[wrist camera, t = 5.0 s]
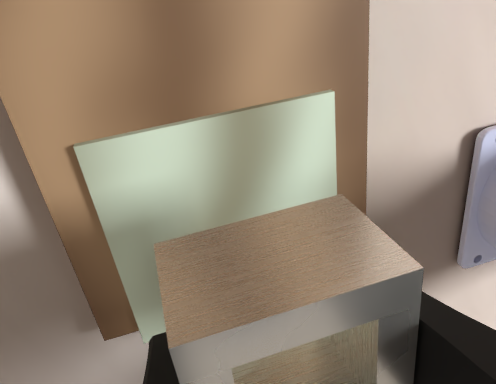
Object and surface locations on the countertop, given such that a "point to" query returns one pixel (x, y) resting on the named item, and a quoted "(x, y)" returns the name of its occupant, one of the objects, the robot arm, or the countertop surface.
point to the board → (180, 124)
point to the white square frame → (291, 300)
